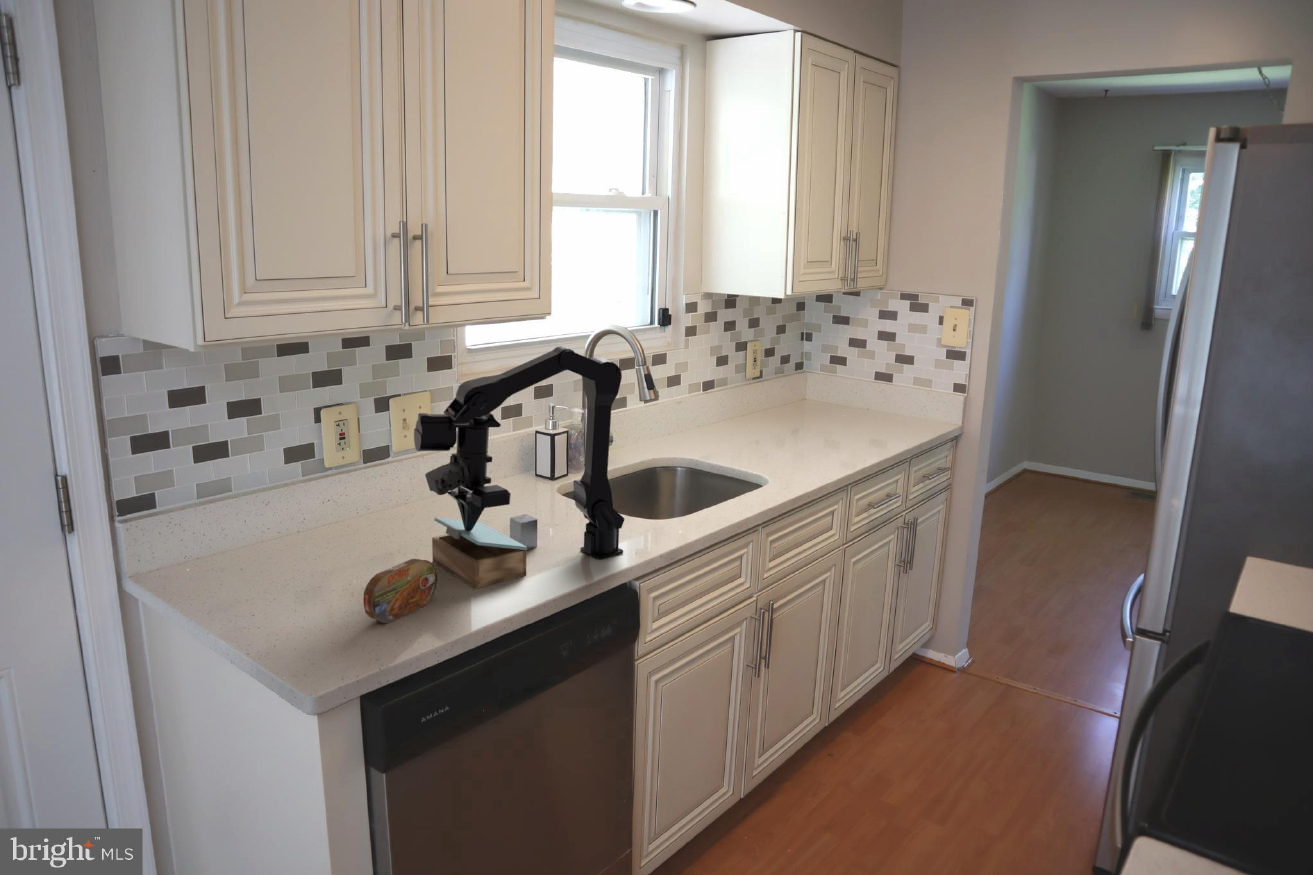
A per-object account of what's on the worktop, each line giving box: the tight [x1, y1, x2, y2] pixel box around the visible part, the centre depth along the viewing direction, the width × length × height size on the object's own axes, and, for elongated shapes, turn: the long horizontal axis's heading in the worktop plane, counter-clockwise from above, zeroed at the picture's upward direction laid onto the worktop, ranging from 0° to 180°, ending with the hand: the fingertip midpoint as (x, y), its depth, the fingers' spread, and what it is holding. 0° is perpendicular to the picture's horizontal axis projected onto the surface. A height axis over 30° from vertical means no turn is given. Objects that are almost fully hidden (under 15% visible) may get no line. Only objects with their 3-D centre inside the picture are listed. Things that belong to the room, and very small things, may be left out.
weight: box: [509, 513, 538, 550], centre depth 188 cm, size 4×4×6 cm
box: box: [431, 533, 528, 589], centre depth 176 cm, size 11×16×5 cm
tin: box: [363, 558, 439, 624], centre depth 156 cm, size 15×3×8 cm, turn 150°
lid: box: [434, 517, 528, 550], centre depth 175 cm, size 12×16×1 cm
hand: (468, 530), depth 173 cm, fingers closed, pressing on lid
